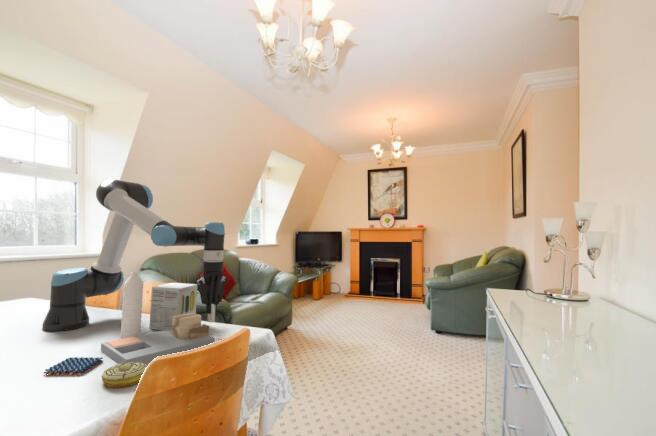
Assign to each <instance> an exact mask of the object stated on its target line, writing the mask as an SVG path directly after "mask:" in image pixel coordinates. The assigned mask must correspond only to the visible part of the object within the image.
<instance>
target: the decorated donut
mask: <svg viewBox="0 0 656 436" xmlns="http://www.w3.org/2000/svg"><path fill="white" fill-rule="evenodd" d="M147 366H148V365H147V363H139V362H128V363H123V364H119V363H118V364H115V365H112V366H111V367H108V368H106V369H105V370H103V373H102V374H101V379H102V382H103V384H104V385H105V386H107V387H108V388H114V389H115V388H125V387H130V386H133V385H136V384H138V382H139V380H140V378H141V375H142V374H143V372H144V370H145V368H146V367H147ZM139 383H140V382H139Z"/></svg>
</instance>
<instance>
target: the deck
mask: <svg viewBox="0 0 656 436" xmlns="http://www.w3.org/2000/svg"><path fill="white" fill-rule="evenodd" d="M171 335H172V329H168V330H157V331H154V332H149V333H144V334H140V335H138V336H133V337H128V338H124V339H121V338H120V339H115V340H109V341H105V342H101V344H100V345H101V346H100V351H101V352H102V353H104V354H105V355H106V356H108V357H109V358H110V359H112V360H113V361H115V362H116V363H118V364H123V363H128V362H139V363H145V364H148V363H151V362H150V361H152V360H153V359H154V358H156V357H157V356H162V355H167V354H172V353H177V352H182V351H187V350H191V349H194V348H198V347H201V346H204V345H208V344H210V343H213V342H214V343H215V339H216V338H215V336H211V335H210V334H209V335H208V336H204V337H200V338H195V339H191V340H190V339H189V337H188V338H183V339H178V338H175V337H173V336H171ZM152 362H153V361H152Z"/></svg>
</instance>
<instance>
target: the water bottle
mask: <svg viewBox="0 0 656 436" xmlns="http://www.w3.org/2000/svg"><path fill="white" fill-rule="evenodd" d="M151 271H152V270H143V274H147V275H148V274H151V273H152V272H151ZM122 292H123V294H122V306H121V308H122V311H121V327H120V339H124V338H128V337H133V336H138V335H141V334H142V333H141V332H142V331H141V328H142V324H141V323H142V317H143V316H142V313H143V296H144V295H143V293H144V282H143V280H142V279H141V277H140V275H139V271H138V270H133V271H131V272H130V275H129V276H128V278H127V279H126V280H125V282H123V291H122Z"/></svg>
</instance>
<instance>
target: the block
mask: <svg viewBox="0 0 656 436" xmlns="http://www.w3.org/2000/svg"><path fill="white" fill-rule="evenodd" d="M197 327H202V315H201V314H198V313H196V314H195V313H189V314H183V315H177V316H172V335H171V336H173V337H175V338H178V339H183V338H188V337H189V333H190V329H192V328H197Z"/></svg>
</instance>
